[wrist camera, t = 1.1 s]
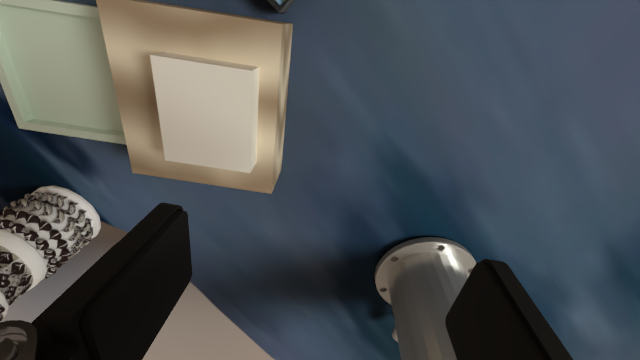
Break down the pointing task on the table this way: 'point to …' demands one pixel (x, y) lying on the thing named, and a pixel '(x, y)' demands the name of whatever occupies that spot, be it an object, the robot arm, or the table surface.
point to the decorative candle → (41, 238)
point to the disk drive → (281, 5)
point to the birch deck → (205, 42)
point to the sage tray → (58, 69)
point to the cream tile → (207, 110)
